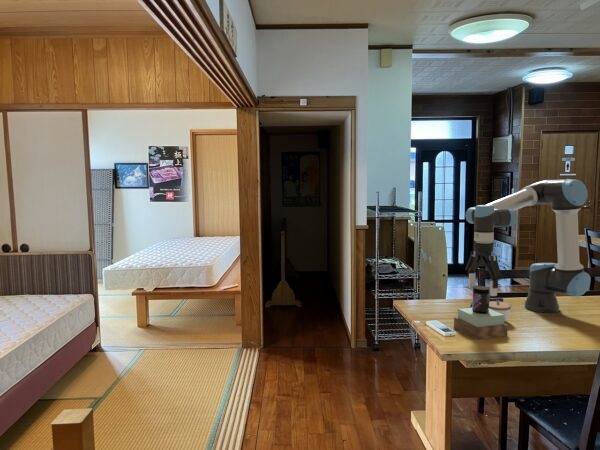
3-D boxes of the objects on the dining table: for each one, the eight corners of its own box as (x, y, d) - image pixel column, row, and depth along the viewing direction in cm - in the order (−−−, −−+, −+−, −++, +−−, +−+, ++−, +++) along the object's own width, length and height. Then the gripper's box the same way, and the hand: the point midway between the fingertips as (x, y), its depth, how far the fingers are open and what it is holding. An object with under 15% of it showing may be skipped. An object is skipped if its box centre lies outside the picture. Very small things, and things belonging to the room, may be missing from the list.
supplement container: (472, 308, 187) (473, 285, 186) (489, 310, 184) (490, 286, 183) (471, 313, 180) (472, 288, 179) (489, 315, 178) (489, 290, 177)
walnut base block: (483, 325, 192) (483, 314, 191) (507, 336, 177) (507, 324, 177) (453, 328, 188) (454, 317, 188) (476, 340, 174) (476, 328, 173)
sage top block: (483, 315, 190) (483, 306, 190) (504, 324, 178) (504, 314, 177) (457, 317, 187) (457, 308, 187) (477, 327, 175) (477, 317, 174)
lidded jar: (511, 319, 198) (513, 299, 196) (507, 326, 189) (508, 305, 188) (487, 315, 204) (488, 296, 202) (482, 321, 195) (482, 301, 194)
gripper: (457, 238, 190) (456, 285, 192) (496, 246, 166) (495, 300, 168) (472, 238, 192) (471, 284, 194) (513, 245, 168) (511, 298, 170)
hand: (482, 291), depth 181 cm, fingers open, 13 cm apart
